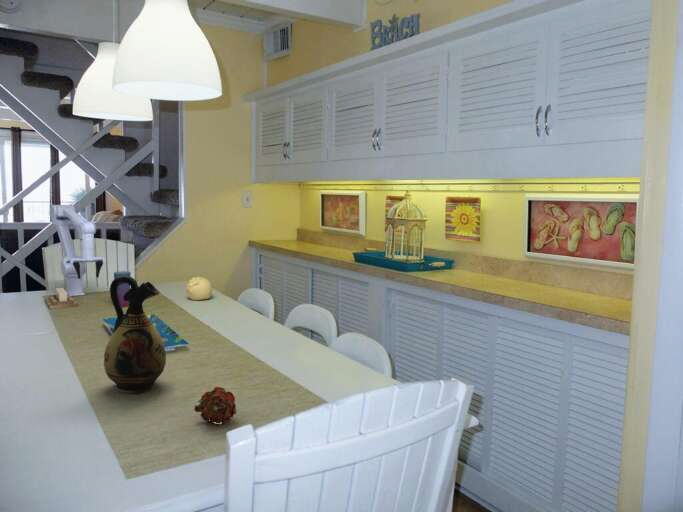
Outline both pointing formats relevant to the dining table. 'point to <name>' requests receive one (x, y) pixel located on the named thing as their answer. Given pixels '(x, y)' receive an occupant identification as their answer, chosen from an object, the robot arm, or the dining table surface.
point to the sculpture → (199, 288)
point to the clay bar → (61, 294)
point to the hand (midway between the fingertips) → (88, 277)
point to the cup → (122, 288)
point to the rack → (61, 302)
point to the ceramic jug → (134, 341)
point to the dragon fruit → (217, 405)
